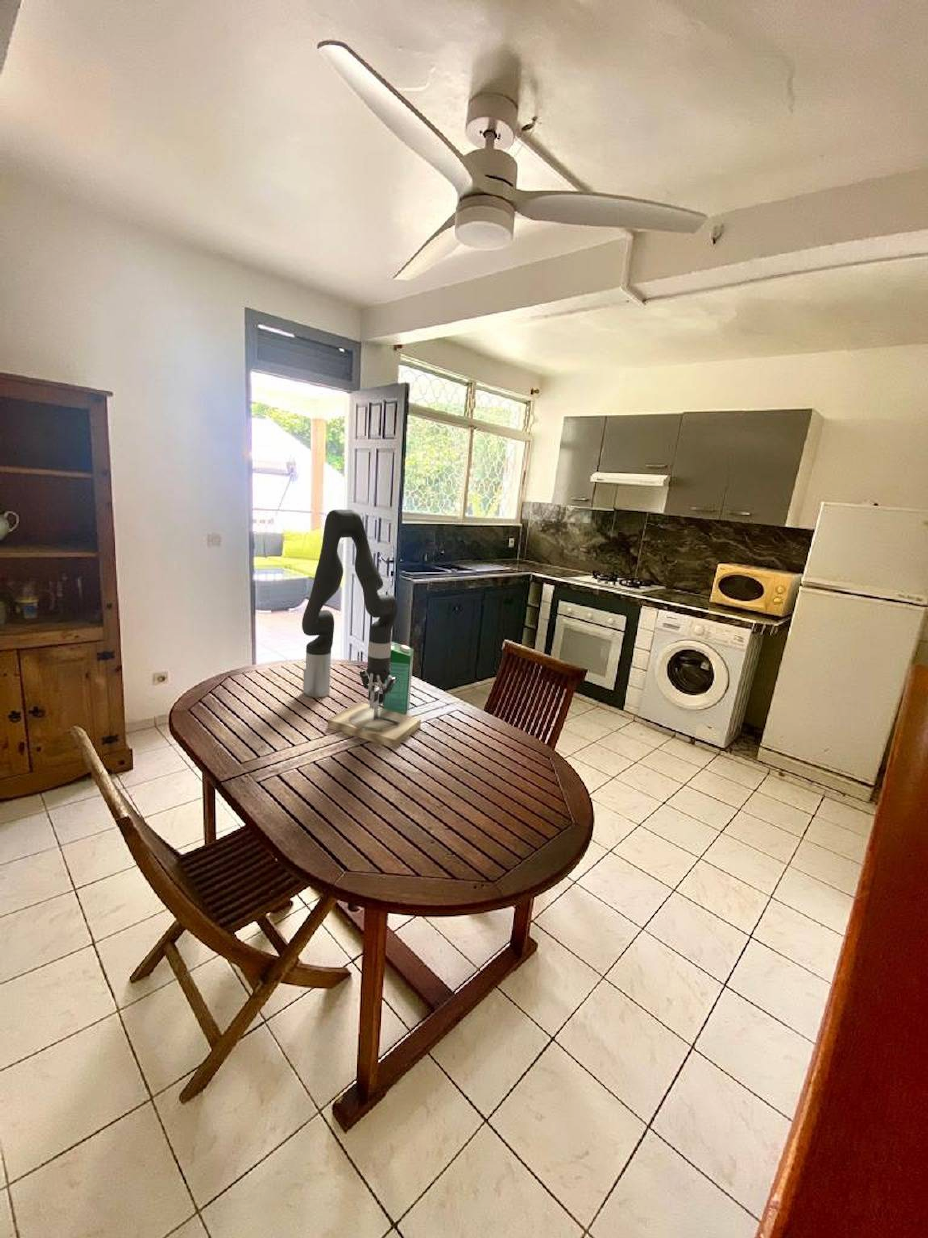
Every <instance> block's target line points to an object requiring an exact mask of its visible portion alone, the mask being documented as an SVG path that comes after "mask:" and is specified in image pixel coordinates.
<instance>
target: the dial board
mask: <svg viewBox="0 0 928 1238" xmlns="http://www.w3.org/2000/svg"><path fill="white" fill-rule="evenodd" d="M378 716H380V717H383V718H387V719H390V720H393V721H397V722H399V724H395V723H392V722H389V721H385V720H382V719H378V718H377V719H374V718H373V717H374V709H372V708H370V703H369V704H368V703H365V702H361V701H357V702H356V703H355V702H354V703H353V704H351V705H350V706H348V707H347V708H345V709H344V710H342V711H340V712H339V713H336V714H334V715H333V716H332V717H330V718H328V719H327V728H328V729H331V730H334V731H338V732H341V733H345V734H347V735H351V736H354V737H357V738H360V739H364V740H367V741H370V742H371V743H372V742H373V743H376V744H380V745H382V746H386V747H388V748H390V749H395V748H397V747H398V746H400V744H401V743H403V742H404V741H405V740H407V739H408V738H409V737H410V736H411V735H412V734H414V733H415V732H416V731H417V730H419V729H420V728H421V723H422V719H421V718H418V717H415V716H411V715H407V714H403V713H397V712H394V711H391V710H387V709H383V707H379V706H378Z"/></svg>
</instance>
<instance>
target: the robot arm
mask: <svg viewBox="0 0 928 1238" xmlns="http://www.w3.org/2000/svg"><path fill="white" fill-rule="evenodd" d="M323 527H324V528H323V533H322V534H323V536H322V544H321V549H320V555H319V559H318V562H317V566H316V570H315V574H314V578H313V583H312V587H311V591H310V596H309V599H308V600H307V601H308V602H307V605H306V606H305V610H304V612H303V616H302V622H301V628H302V631H303V634H305V636H308V637H315V636H317V637H316V638H314V639H313V640H312V641H309V642H308V643H307V644H306V646H305V652H306V653H305V668H304V669H303V675H302V677H303V682H302V683H303V684H302V693H303V694H305V695H306V696H307V697H310V698H316V699H317V698H324V697H327V696H329V695H330V693H331V690H330V689H331V668H332V667H331V659H332V648H333V644H334V632H335V619H334V618H335V617H334V615H333V613H332V611H330V610H327V609H325V610H324V609H323V607H324V605H325V604H326V603H327V602H328V601H329V600H330V599H331V598H332V597H333V596H334V595H335V594H336V593H337V591H338V590H339V589H340V586H341V585H342V584H341V583H342V581H343V580H342V579H343V576H344V566H343V563H342V561H341V559H340V556H339V554H338V549H339V543H340V540H341V539H342V538H351V540H352V542H353V544H354V545H355V559H354V571H355V574H356V577H357V580H358V581H359V584H360V585H361V588H362V594H363V600H364V605H365V609H366V610H365V611H366V612H367V613H368V615H369V616H370V617H372V618H374V619H377V618H378V620H377V621H375V622H374V623H372V624H371V625H370V629H369V639H368V640H369V642H368V648H367V664H366V665H367V668H366V669H362V670H361V671H359V676H360V679H361V682H362V686H363V688H364V689H367V690H368V696H367V697H368V699H369V700H368V701H369V702H370V693H371V691H372V690H374V689H376V685H377V687H379V691H380V693H379V702H378V703H379V704H380V705H382V704H383V702H384V701H385V694H387V693H388V692H390V691H391V690H392V688H393V686H394V684H395V682H396V680H397V678H396V677H394V678H393V677H392V676H391V675H390V672H389V668H390V658H391V641H392V631H393V628H394V624H395V621H396V617H397V614H398V612H399V611H398V610H399V604H398V600H397V598H396V596H395V595H392V594H379V592H378V591H380V590H381V589H382V588H383V587H384V580H383V578H382V576H381V574H380V572H379V570H378V568H377V565H376V563H375V560H374V558H373V557H374V556H372V555H373V554H372V551H371V548H370V547H371V546H370V543H369V539H368V537H367V532H366V529H365V526H364V522H363V519H362V517H361V515H360V514H359V512H358V511H356V510H354V509H333V510H331V511H329V512H328V513H327V515H326V517H325V521H324V526H323ZM322 609H323V610H322ZM387 679H388V682H389V683H388V685H387V687H386V684H387V683H386V680H387ZM381 703H382V704H381Z"/></svg>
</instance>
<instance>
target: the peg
mask: <svg viewBox="0 0 928 1238" xmlns="http://www.w3.org/2000/svg"><path fill="white" fill-rule="evenodd" d="M379 693H380V691H379V687H378V686H377V687H375V688H374V690H372V691H371V693H370V701H369V705H370V708H372V709H374V717H373V718H374V719H377V718H378V719H382V720H385V721H389V722H392V723H395V724H399V722H397V721H393V720H390V719H387V718H383V717H380V716H378V707H379V706H380V705H383V703H381V704H379V703H378V702H379Z"/></svg>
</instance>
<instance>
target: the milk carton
mask: <svg viewBox="0 0 928 1238" xmlns="http://www.w3.org/2000/svg"><path fill="white" fill-rule="evenodd" d="M414 651H415V649H414V648H412V647H410V646H408V645H405V644H400V643H398V642H396V641H392V640H391V658H390V668H389V672H390V675H391V676H392V677H393V678H394V677H396V678H397V680H396V682H395V684H394V686H393V688H392V690H391V691H390V692H388V693H387V694H385V701H384V702H383V703H382V708H383V709H387V710H391V711H394V712H397V713H401V714H404V715H407V714H408V710H409V707H410V703H411V702H410V701H411V687H412V676H413V664H414ZM386 683H387V684H386V687H387V685H388V683H389V682H388V679H387V680H386Z"/></svg>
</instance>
